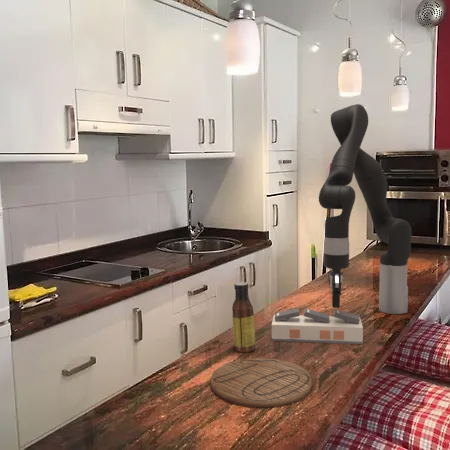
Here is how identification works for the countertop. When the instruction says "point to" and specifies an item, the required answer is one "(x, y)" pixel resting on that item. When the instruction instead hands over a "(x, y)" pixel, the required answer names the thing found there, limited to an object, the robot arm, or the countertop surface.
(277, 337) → the switch console
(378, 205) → the robot arm
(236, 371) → the trivet
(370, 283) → the countertop surface
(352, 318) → the plate
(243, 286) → the sauce bottle
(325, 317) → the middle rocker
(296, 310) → the far rocker
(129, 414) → the countertop surface
